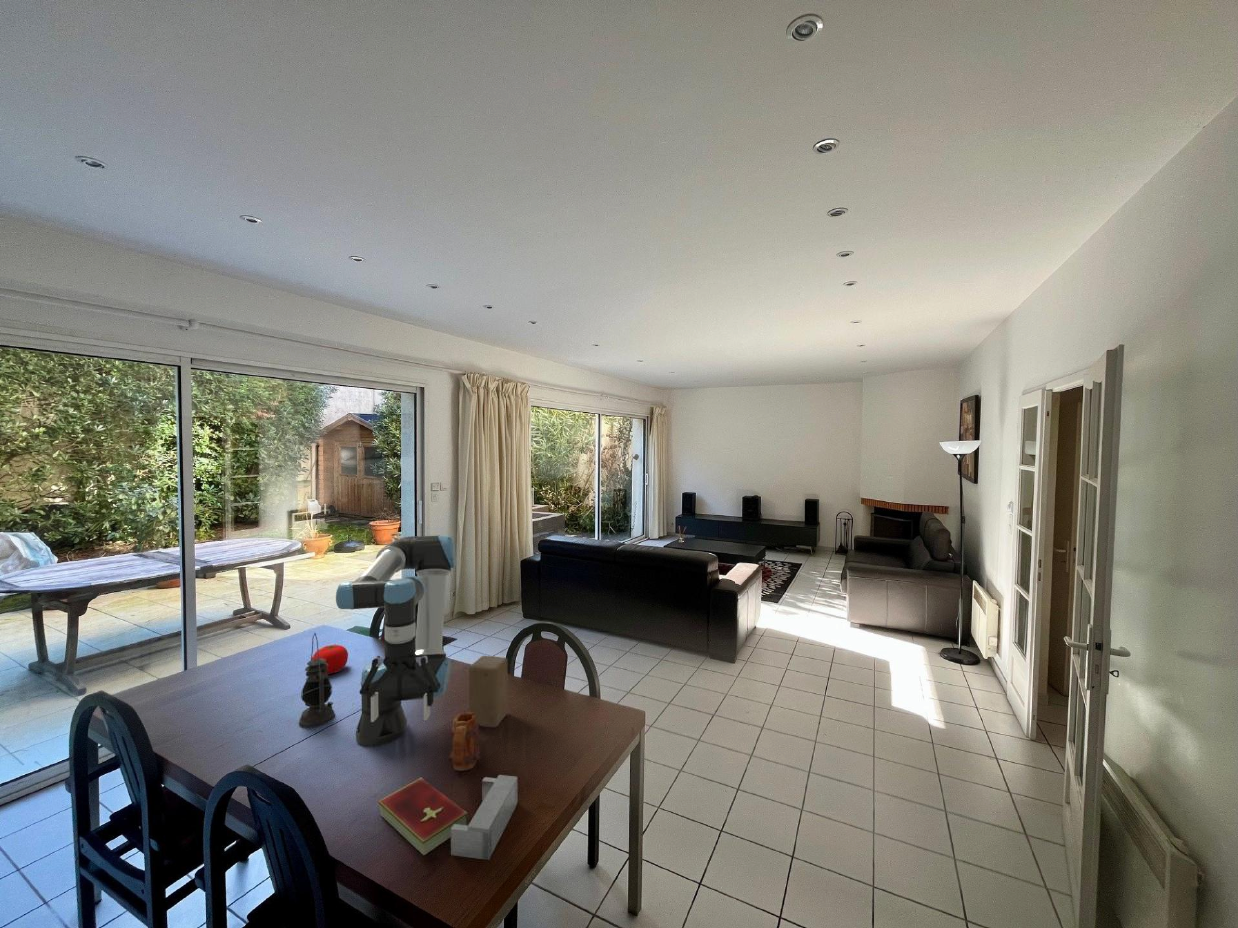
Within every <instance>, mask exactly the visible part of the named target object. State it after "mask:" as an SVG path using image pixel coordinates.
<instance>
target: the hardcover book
mask: <svg viewBox="0 0 1238 928" xmlns="http://www.w3.org/2000/svg"><path fill="white" fill-rule="evenodd" d="M377 803H378V805H379V807H380V815H381V817H382V818H383V819H384V820H385V821H387V822H388V824H390V825H391V826H392V827H393V828H394V829H395V830H396V831H397V832H398V833H399V834H401V835H402V836H403V837H404V838H405V839H406V840H407V841H408V842H409V843H410V844H411V845H412V846H413V847H414V848H415V849H416V850H418V851H419V853H420V854H421V855H422V856H425V855H427V854H428V853H430V852H431V851H432V850H434V849H435V848H437V847H438V846H439V845H441V844H443V843H444V842H445V841H447V840H448V839H451V828H452V826H453V825H454V824H459V825H467V826H468V825H469V823H470V822H469V821H470V818H469V813H468V812H467V811H466V810H464V809H463V808H462V807H461V806H459V805H458V804H457V803H456V802H454V801H452V800H451V799H450V798H449V797H448V796H446V795H445V794H443V793H442V792H441V791H440V790H438V789H437V788H436V787H434V786H433V785H431V784H430V783H429V782H428V781H426V780H425V779H424V778H422V777H419V778H417V779H415V780H414V781H412V782H410V783H408V784H406V785H405V786H403V787H402V788H400V789H397V790H395V791H394V792H392V793H390V794H388V795H387V796H385V797H383V798H381V799H380V800H378V801H377Z"/></svg>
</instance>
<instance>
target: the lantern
mask: <svg viewBox="0 0 1238 928" xmlns="http://www.w3.org/2000/svg"><path fill="white" fill-rule="evenodd" d="M314 637H315V640H316V648H317V649H316V651H318V650H319V641H318V638H317V633H316V632H314V634H313V635H312V639H311V640H312V641H311V653H310V660H309V661H307V663H306V665H307V666H306V667H305V668H304V671H305V676H306V679H305V683H304V685H303V687H302V690H301V693H300V698H301V700H302V701H303V703H304V705H305V706H306V707H307V708H305V709H304V710H303V711H302V713H301V715H300V718H299V721H298V726H299V727H301V728H305V729H314V728H317V727H321V726H322V727H323V726H324V725H326V724H329V723H330V722H331V721H333V720H334V718H335V717H336V714H335V711H334V709H333V705H334V702H332V701H329V699H330V698H331V696H332V694H333V691H332V689H333V685H332V683H331V680H330V679H329V677H328V674H325V673H326V672H327V667H328V664H327V663H325V662H326V659H323V658H319V652H318V653H316V652H314ZM313 652H314V654H315V659H314V660H312V657H313ZM316 654H317V656H318V659H316Z"/></svg>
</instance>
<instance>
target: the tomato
mask: <svg viewBox="0 0 1238 928" xmlns="http://www.w3.org/2000/svg"><path fill="white" fill-rule="evenodd" d="M318 652H319V658H323V659H326V662H325V663H327V664H328V667H327V672H326V673H325V674H327V675H330V674H336V673H338V672H340V671H342V670H343V669H344V668H345V666H346V665H347V663H348V660H349V653H348V650H347V648H346V647H345V646H343V645H339V644H336V643H335V644H331V645H326V646H325V645H324V646H323V647H321V648H318V651H317V650H316V651H315V653H318ZM315 653H314V654H312V660H314V659H315ZM316 659H318V656H317V654H316Z"/></svg>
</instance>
